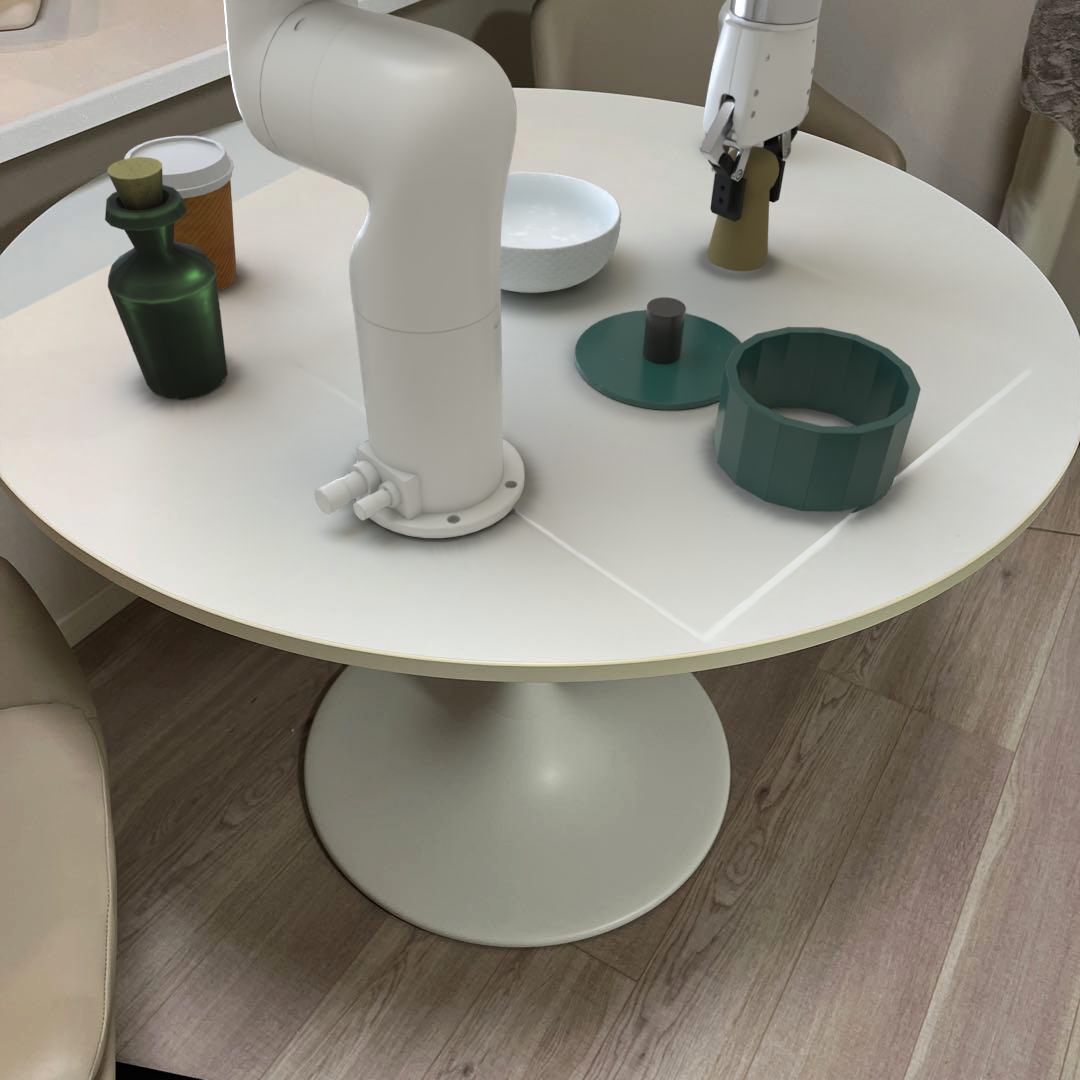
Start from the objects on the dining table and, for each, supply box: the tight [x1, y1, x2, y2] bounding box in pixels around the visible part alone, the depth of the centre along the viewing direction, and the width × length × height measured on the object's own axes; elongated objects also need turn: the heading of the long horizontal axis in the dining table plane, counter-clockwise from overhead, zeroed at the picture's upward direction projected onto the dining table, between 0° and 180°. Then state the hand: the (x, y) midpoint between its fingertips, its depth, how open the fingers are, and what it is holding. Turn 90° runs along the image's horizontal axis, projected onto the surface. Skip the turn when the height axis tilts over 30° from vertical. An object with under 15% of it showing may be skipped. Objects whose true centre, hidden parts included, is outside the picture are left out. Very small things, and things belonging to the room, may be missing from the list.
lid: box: [574, 296, 742, 411], centre depth 88 cm, size 15×15×6 cm
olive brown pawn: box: [706, 146, 779, 272], centre depth 100 cm, size 6×6×11 cm
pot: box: [712, 326, 922, 514], centre depth 78 cm, size 14×14×8 cm
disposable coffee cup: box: [123, 135, 238, 292], centre depth 96 cm, size 10×10×12 cm
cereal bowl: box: [501, 171, 622, 294], centre depth 99 cm, size 17×17×7 cm
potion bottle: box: [104, 157, 228, 400], centre depth 82 cm, size 8×8×18 cm
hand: (744, 204), depth 100 cm, fingers closed on olive brown pawn, 5 cm apart
